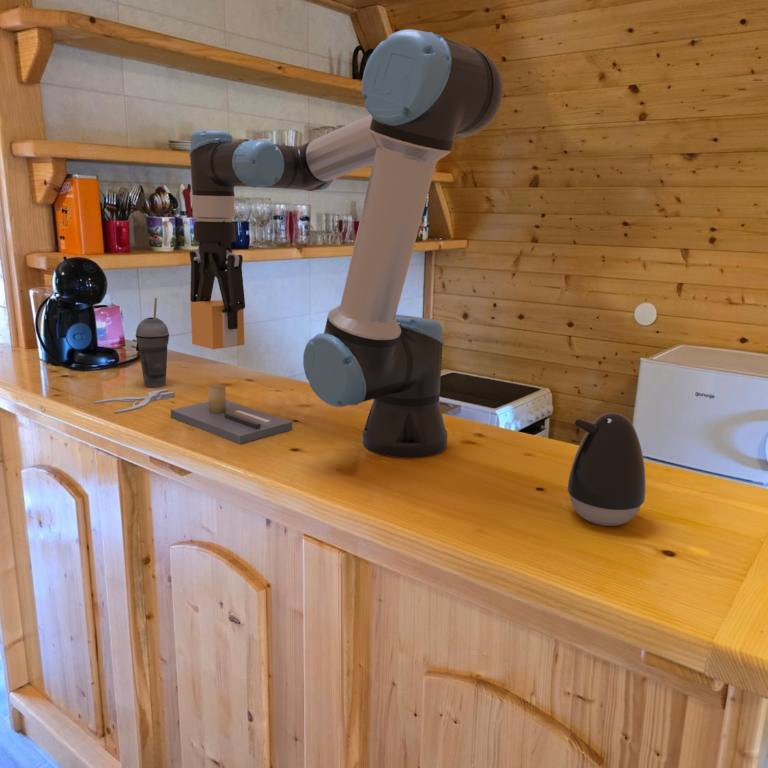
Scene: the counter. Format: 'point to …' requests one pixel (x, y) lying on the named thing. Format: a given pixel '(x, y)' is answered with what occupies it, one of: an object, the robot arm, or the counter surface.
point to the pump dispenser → (608, 471)
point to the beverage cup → (153, 349)
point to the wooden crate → (212, 324)
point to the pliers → (146, 400)
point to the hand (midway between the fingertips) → (218, 342)
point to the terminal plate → (230, 418)
